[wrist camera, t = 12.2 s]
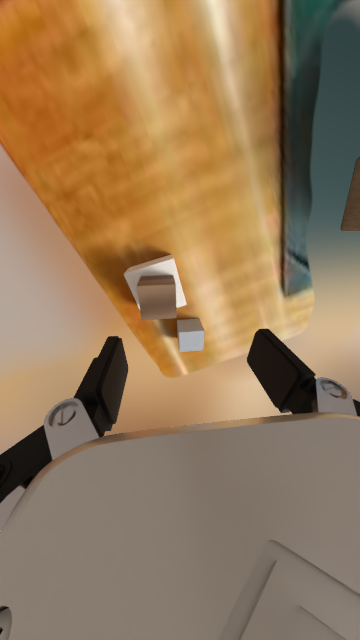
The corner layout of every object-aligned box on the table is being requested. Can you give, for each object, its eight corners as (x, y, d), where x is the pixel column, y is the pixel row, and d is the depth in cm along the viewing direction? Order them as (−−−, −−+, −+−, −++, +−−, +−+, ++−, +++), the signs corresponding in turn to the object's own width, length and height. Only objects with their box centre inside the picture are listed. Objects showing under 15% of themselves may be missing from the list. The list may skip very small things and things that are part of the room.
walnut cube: (141, 276, 24) (136, 286, 20) (173, 275, 24) (175, 284, 20) (144, 305, 26) (141, 320, 22) (174, 304, 27) (176, 318, 22)
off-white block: (129, 267, 28) (123, 274, 23) (171, 253, 27) (173, 258, 23) (146, 305, 32) (143, 317, 27) (183, 294, 31) (186, 304, 27)
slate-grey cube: (176, 319, 34) (179, 332, 30) (199, 318, 34) (204, 330, 30) (177, 337, 37) (179, 352, 32) (198, 336, 37) (203, 350, 33)
